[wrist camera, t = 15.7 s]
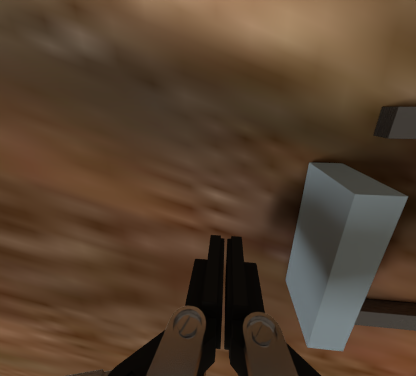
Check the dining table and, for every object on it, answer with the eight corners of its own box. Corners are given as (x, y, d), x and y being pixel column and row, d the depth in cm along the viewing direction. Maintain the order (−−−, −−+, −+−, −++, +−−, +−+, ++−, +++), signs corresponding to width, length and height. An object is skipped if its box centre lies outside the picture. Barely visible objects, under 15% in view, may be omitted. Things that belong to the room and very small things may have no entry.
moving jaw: (310, 281, 16) (342, 351, 12) (285, 279, 16) (307, 347, 12) (342, 163, 12) (408, 196, 8) (309, 162, 13) (355, 194, 8)
